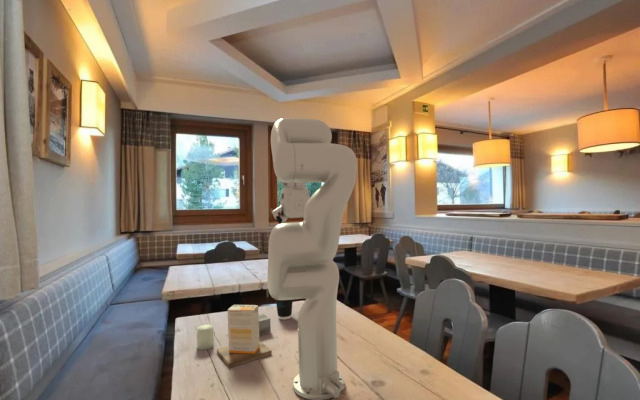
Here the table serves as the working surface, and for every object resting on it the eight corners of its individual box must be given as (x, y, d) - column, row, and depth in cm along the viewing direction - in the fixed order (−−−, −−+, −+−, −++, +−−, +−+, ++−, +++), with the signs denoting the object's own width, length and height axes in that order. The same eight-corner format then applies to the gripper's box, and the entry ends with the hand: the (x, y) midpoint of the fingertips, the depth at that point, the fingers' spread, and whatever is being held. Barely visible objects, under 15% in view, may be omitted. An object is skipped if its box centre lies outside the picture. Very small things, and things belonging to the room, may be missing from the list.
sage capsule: (215, 346, 104) (215, 328, 104) (199, 351, 101) (199, 332, 101) (211, 341, 108) (210, 323, 108) (195, 345, 105) (194, 327, 105)
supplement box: (260, 347, 100) (259, 304, 100) (254, 354, 95) (253, 309, 95) (234, 345, 101) (233, 303, 101) (228, 353, 97) (227, 309, 97)
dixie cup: (293, 312, 133) (292, 286, 133) (296, 319, 126) (295, 291, 126) (273, 314, 132) (273, 287, 132) (275, 321, 124) (274, 293, 124)
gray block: (270, 332, 114) (270, 318, 114) (257, 336, 111) (256, 321, 111) (263, 327, 119) (263, 313, 119) (250, 330, 116) (250, 316, 116)
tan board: (271, 354, 98) (271, 350, 98) (229, 367, 90) (229, 363, 90) (256, 341, 107) (256, 338, 107) (216, 353, 100) (216, 349, 100)
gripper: (277, 184, 104) (278, 237, 104) (321, 184, 114) (322, 233, 114) (267, 185, 110) (268, 235, 111) (309, 185, 120) (310, 231, 120)
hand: (295, 234), depth 112 cm, fingers open, 9 cm apart
